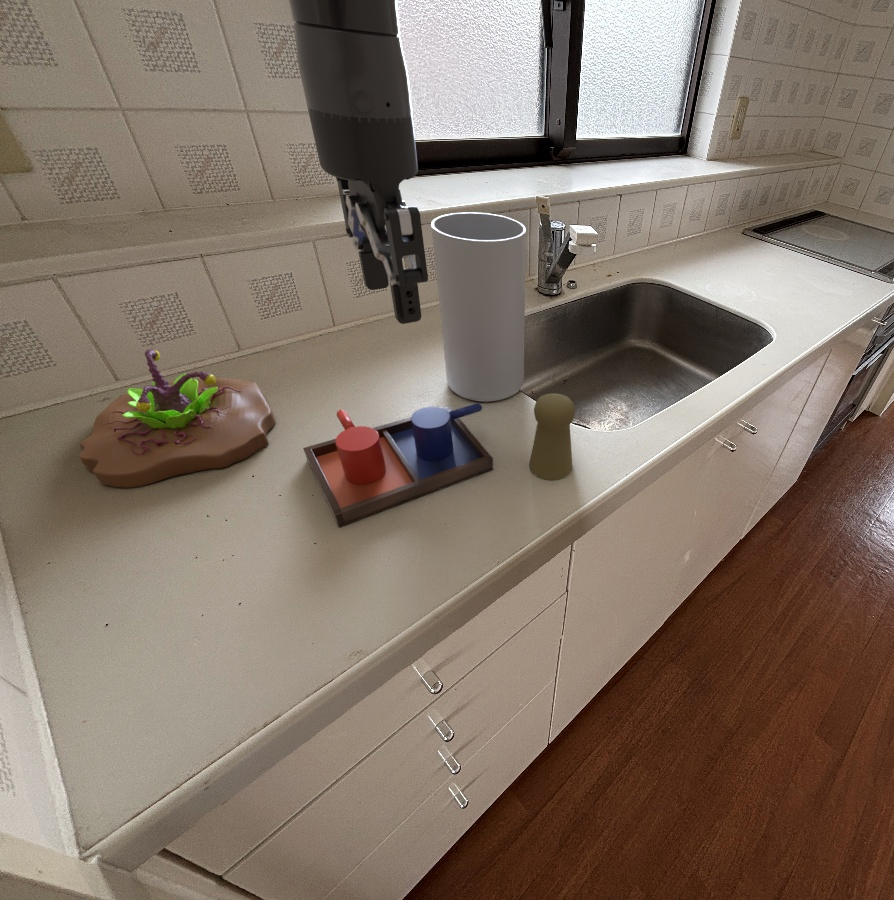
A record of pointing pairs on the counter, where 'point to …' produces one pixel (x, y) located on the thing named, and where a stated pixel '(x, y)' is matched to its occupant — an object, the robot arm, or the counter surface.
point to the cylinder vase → (481, 302)
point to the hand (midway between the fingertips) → (392, 303)
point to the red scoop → (359, 452)
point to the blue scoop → (436, 430)
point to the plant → (176, 428)
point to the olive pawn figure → (552, 437)
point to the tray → (395, 471)
